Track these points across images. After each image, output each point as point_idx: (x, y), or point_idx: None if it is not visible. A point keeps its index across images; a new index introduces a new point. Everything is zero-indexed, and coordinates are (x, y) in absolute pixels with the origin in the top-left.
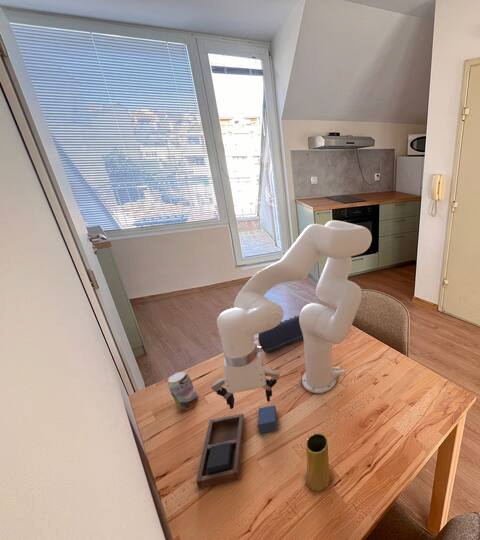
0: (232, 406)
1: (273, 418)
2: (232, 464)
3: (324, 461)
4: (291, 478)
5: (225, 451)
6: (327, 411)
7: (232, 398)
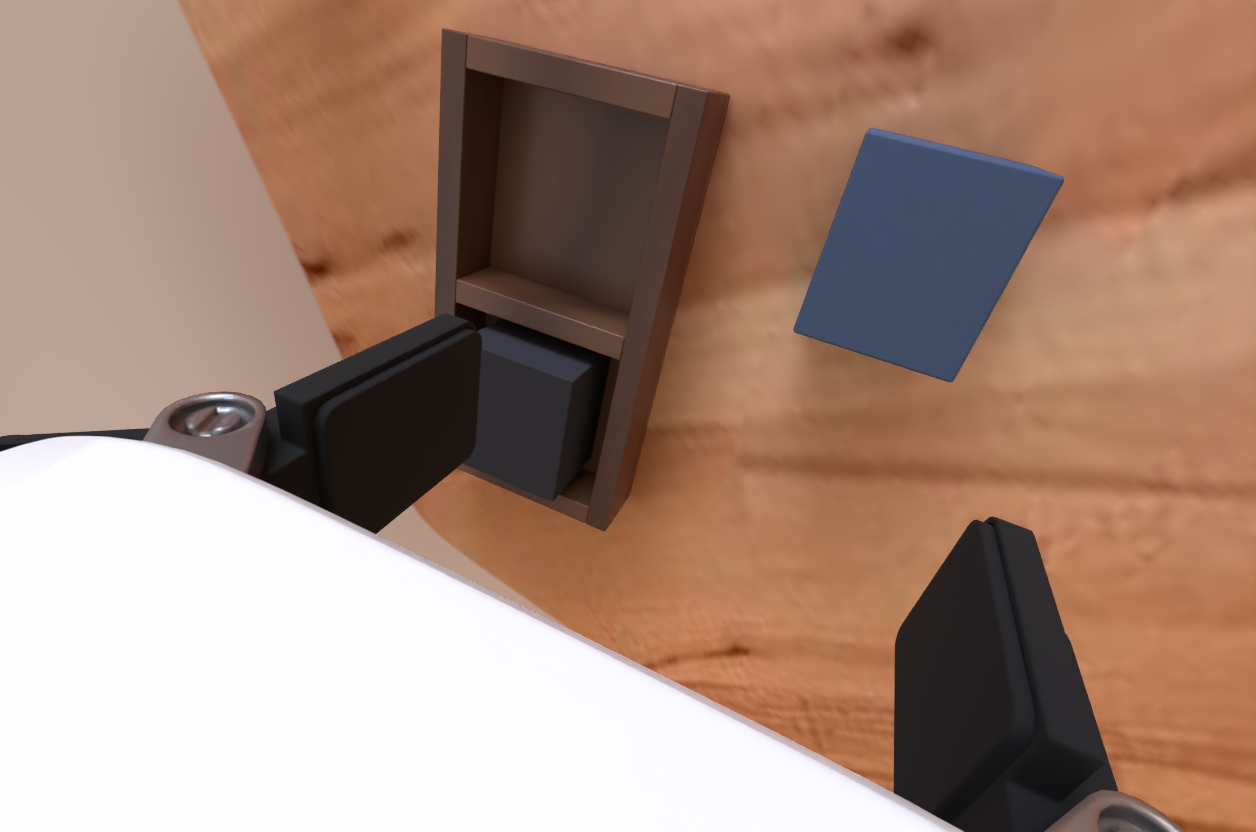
0: (445, 474)
1: (950, 346)
2: (604, 422)
3: None
4: (869, 649)
5: (541, 425)
6: None
7: (400, 450)
